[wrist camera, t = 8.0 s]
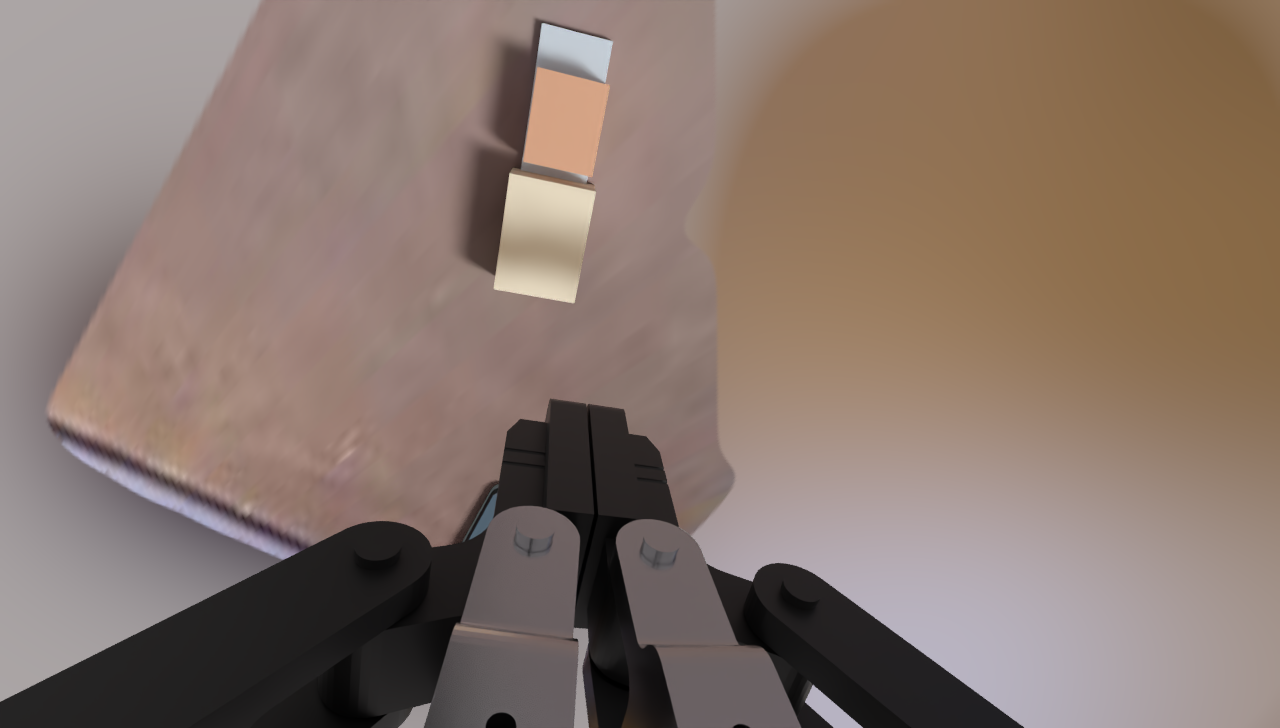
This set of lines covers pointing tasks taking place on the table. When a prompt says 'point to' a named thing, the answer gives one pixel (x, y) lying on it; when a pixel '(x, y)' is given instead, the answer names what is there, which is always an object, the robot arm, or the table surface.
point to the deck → (543, 235)
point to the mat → (569, 73)
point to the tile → (565, 122)
